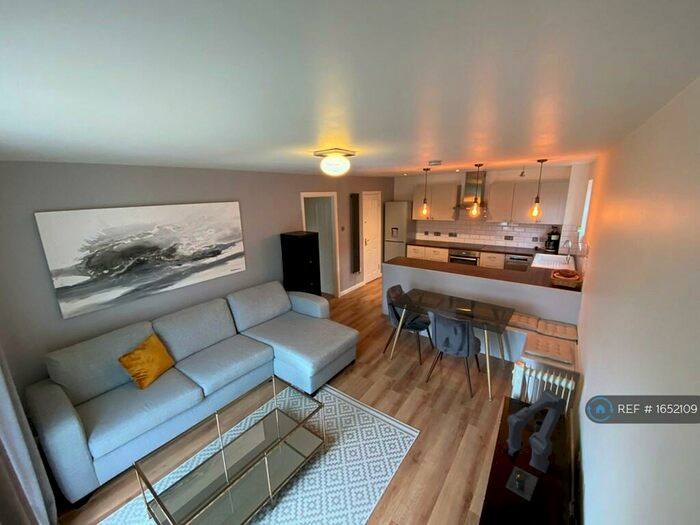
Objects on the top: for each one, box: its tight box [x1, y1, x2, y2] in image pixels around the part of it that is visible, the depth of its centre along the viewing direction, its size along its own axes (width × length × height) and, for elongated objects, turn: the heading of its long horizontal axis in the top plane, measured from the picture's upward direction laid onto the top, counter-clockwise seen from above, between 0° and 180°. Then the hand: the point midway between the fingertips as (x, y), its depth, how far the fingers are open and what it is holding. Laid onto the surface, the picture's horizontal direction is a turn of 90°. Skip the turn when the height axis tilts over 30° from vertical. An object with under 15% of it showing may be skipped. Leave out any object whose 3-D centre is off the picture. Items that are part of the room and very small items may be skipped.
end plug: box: [515, 470, 526, 490], centre depth 150 cm, size 5×5×7 cm
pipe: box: [523, 419, 544, 433], centre depth 185 cm, size 6×13×8 cm, turn 50°
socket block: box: [505, 465, 539, 502], centre depth 153 cm, size 15×11×2 cm
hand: (514, 458), depth 158 cm, fingers open, 7 cm apart
